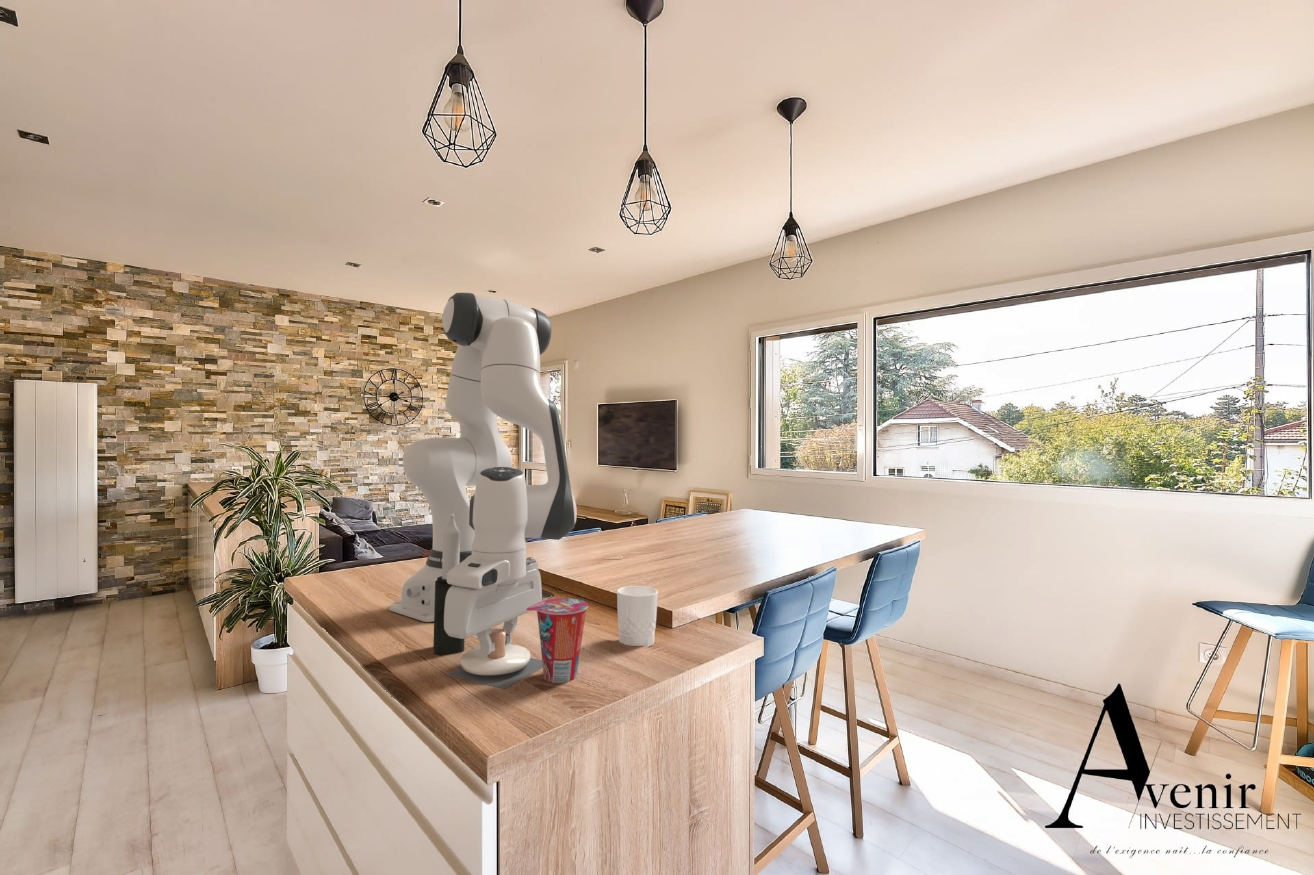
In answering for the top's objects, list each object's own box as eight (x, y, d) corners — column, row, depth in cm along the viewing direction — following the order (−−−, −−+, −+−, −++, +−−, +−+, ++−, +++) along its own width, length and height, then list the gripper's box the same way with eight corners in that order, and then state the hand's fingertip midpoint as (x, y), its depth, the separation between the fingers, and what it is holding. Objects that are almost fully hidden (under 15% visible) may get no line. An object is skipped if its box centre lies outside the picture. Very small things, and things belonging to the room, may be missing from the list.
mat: (445, 678, 91) (445, 674, 91) (495, 654, 102) (495, 650, 102) (505, 692, 86) (505, 688, 86) (550, 665, 97) (550, 662, 97)
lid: (446, 666, 92) (447, 635, 92) (492, 645, 102) (493, 617, 102) (500, 680, 87) (501, 647, 87) (543, 656, 97) (544, 627, 97)
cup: (562, 665, 97) (564, 595, 98) (597, 678, 92) (598, 604, 92) (517, 681, 90) (519, 606, 90) (552, 697, 85) (554, 617, 85)
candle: (433, 649, 104) (436, 512, 104) (462, 645, 106) (465, 511, 106) (434, 658, 99) (437, 515, 100) (464, 655, 101) (468, 514, 102)
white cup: (652, 651, 105) (653, 597, 105) (611, 648, 106) (612, 594, 107) (660, 637, 112) (661, 587, 113) (622, 634, 114) (623, 584, 114)
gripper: (523, 553, 105) (521, 628, 105) (438, 575, 87) (435, 666, 87) (551, 557, 103) (549, 633, 102) (469, 580, 84) (466, 674, 84)
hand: (496, 649), depth 94 cm, fingers closed on lid, 3 cm apart
